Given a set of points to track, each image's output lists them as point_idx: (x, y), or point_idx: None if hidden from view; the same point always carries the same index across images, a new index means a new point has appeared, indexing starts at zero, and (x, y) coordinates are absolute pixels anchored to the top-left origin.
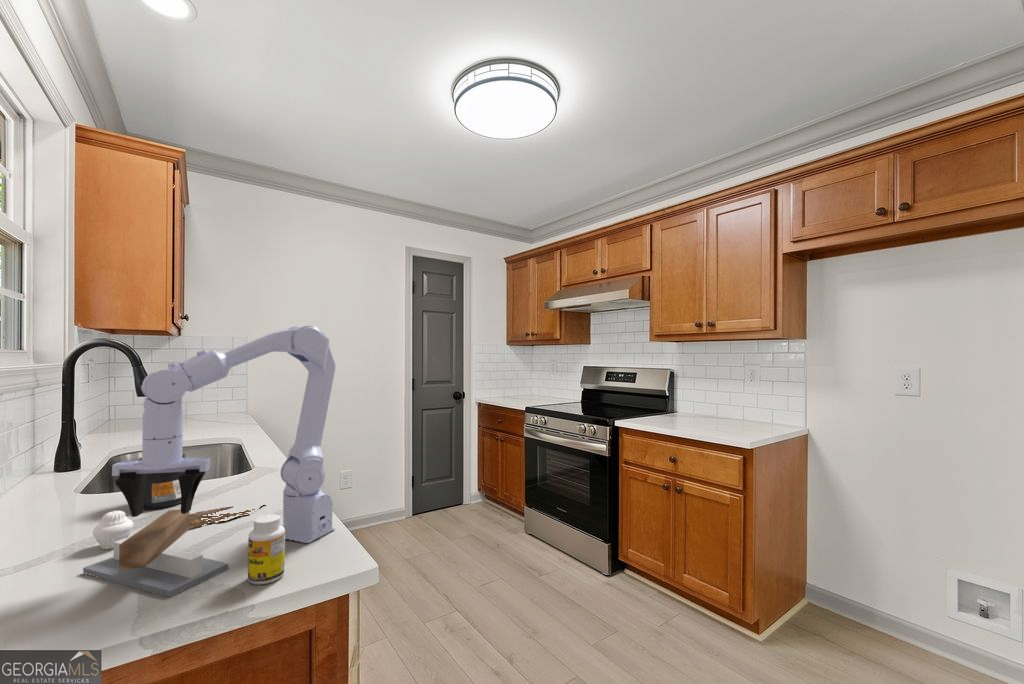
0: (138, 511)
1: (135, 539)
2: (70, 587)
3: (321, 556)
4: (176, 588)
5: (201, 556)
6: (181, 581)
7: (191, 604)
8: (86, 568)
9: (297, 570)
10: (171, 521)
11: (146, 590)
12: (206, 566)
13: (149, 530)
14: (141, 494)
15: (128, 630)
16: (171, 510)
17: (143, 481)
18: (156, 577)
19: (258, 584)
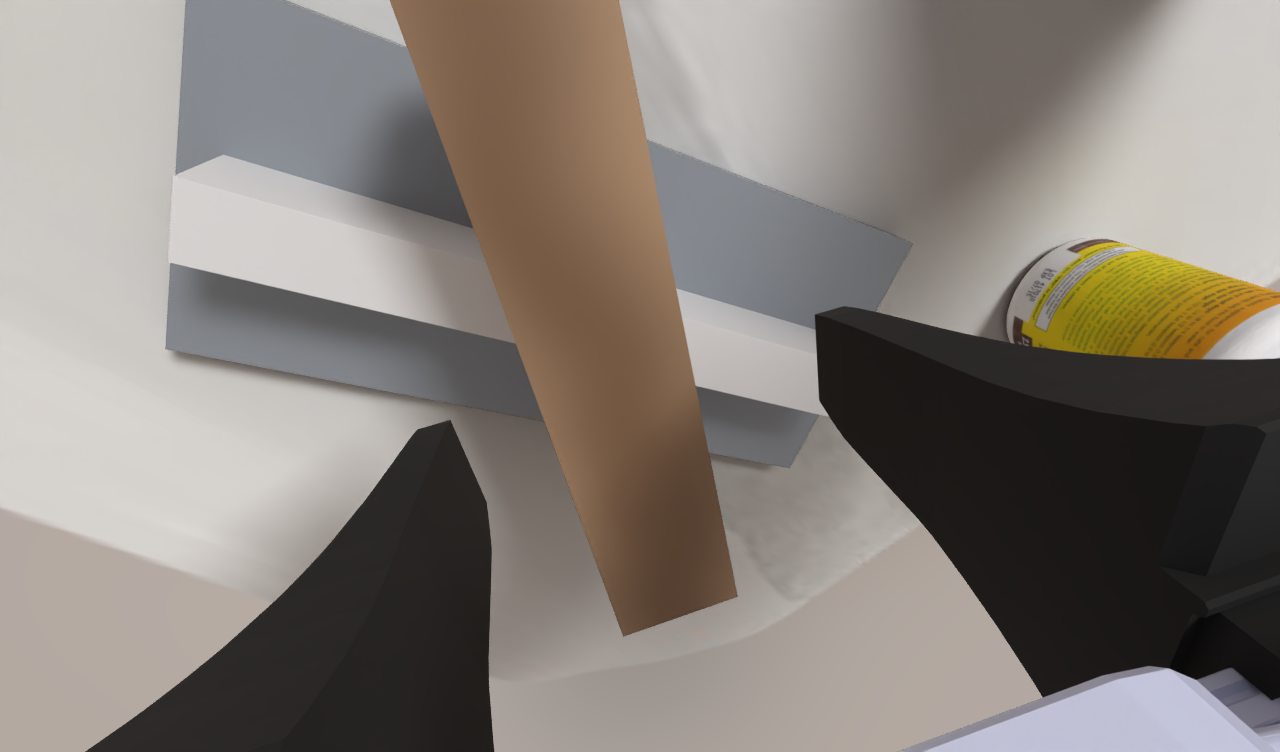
0: (474, 498)
1: (655, 580)
2: (297, 449)
3: (1264, 82)
4: (799, 447)
5: None
6: (792, 408)
7: (868, 474)
8: (198, 353)
9: (1160, 228)
10: (670, 316)
11: None
12: (829, 282)
13: (634, 475)
14: (427, 560)
15: (767, 589)
16: (426, 1)
17: (387, 680)
18: None
19: None
